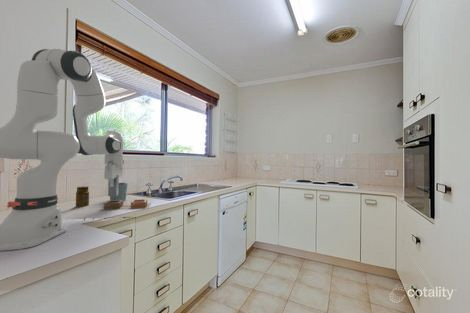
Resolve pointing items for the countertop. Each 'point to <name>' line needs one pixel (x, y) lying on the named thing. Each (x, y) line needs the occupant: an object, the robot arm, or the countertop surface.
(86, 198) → the condiment
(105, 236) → the countertop surface
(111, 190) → the peg
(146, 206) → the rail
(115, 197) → the drinking glass
